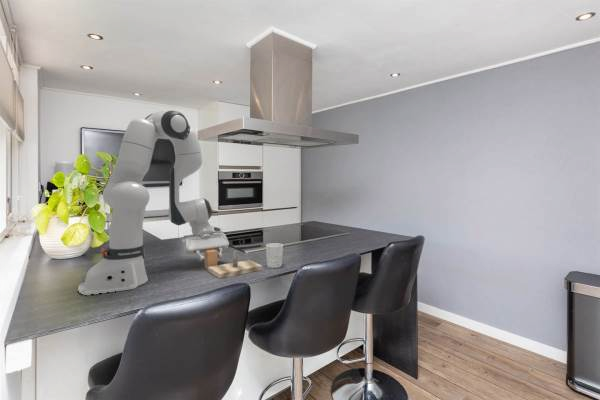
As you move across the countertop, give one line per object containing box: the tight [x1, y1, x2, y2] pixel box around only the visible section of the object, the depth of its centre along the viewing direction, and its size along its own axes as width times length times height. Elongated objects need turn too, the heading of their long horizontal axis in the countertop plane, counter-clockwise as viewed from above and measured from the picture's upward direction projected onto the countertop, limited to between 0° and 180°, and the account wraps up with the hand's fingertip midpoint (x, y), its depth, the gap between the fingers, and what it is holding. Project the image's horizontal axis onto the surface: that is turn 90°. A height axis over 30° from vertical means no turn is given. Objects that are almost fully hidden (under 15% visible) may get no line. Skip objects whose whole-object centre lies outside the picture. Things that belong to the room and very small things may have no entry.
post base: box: [207, 250, 263, 280], centre depth 132 cm, size 20×12×9 cm, turn 129°
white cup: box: [265, 242, 284, 269], centre depth 140 cm, size 8×8×10 cm
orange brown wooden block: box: [204, 249, 218, 271], centre depth 135 cm, size 4×4×8 cm
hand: (211, 258), depth 135 cm, fingers open, 7 cm apart
